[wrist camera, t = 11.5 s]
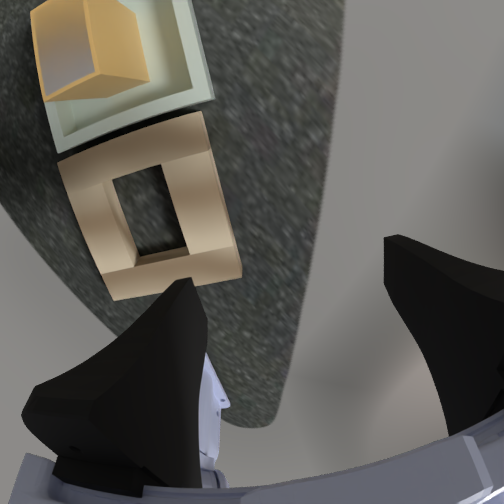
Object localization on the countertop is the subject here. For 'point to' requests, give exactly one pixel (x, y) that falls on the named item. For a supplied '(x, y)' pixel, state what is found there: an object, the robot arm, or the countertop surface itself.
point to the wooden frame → (184, 200)
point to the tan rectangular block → (87, 49)
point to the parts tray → (149, 94)
